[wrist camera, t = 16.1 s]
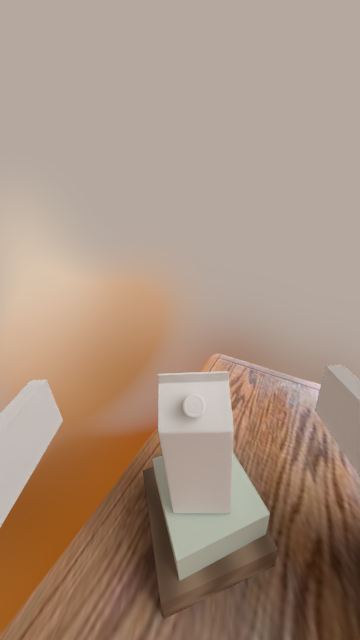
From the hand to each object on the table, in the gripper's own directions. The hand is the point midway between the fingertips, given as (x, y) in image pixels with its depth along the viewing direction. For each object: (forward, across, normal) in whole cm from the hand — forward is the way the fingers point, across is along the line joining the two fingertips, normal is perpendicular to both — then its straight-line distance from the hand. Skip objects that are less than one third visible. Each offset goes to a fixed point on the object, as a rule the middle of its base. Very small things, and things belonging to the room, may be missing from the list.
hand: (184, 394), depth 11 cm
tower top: (+10, +1, -31) cm, 32 cm away
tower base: (+10, 0, -36) cm, 37 cm away
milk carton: (+10, +1, -26) cm, 28 cm away
